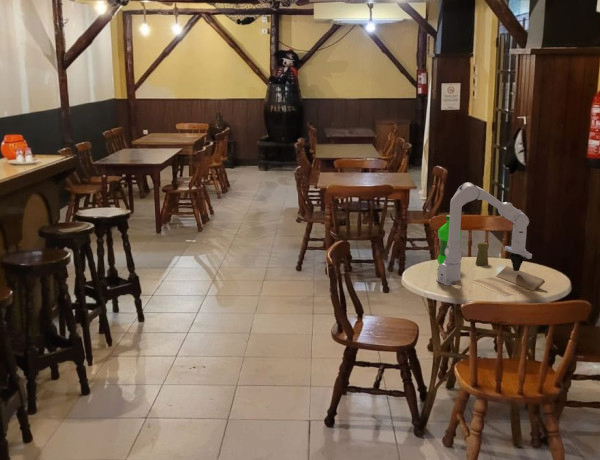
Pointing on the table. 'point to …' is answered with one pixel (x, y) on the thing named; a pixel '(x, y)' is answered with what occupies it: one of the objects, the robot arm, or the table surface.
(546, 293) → the table surface
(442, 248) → the plastic bottle
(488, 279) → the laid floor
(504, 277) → the loose plank
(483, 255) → the olive tapered tower
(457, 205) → the robot arm
